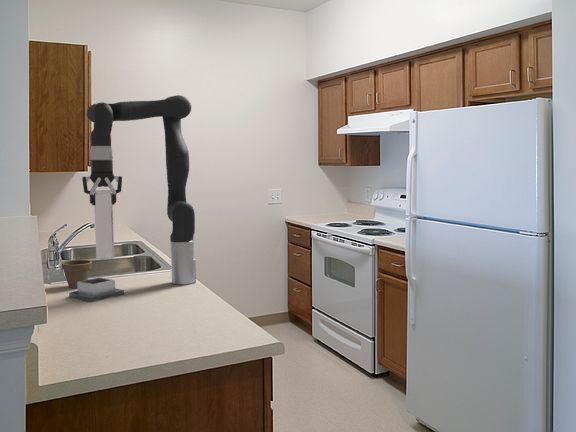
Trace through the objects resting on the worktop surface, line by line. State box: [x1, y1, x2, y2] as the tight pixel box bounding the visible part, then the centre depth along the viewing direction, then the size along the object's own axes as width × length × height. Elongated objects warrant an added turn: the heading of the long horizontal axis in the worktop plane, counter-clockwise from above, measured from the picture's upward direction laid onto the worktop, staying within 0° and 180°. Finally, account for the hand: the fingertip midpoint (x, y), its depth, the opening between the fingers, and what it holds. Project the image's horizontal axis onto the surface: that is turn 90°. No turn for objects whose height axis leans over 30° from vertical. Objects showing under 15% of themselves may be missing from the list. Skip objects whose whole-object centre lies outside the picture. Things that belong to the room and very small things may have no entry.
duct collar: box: [68, 276, 125, 303], centre depth 201 cm, size 14×14×6 cm
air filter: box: [93, 189, 115, 260], centre depth 197 cm, size 6×6×25 cm
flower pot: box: [61, 259, 93, 289], centre depth 216 cm, size 12×11×10 cm
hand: (103, 204), depth 197 cm, fingers closed on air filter, 6 cm apart
